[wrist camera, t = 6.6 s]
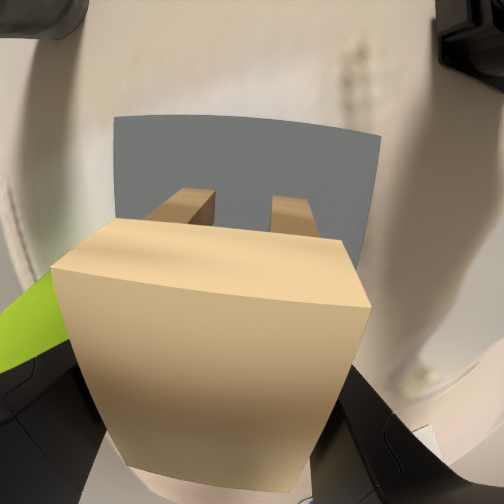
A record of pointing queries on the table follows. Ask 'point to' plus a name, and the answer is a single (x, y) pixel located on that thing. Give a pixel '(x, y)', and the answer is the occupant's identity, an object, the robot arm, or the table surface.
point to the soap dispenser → (31, 324)
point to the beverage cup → (40, 18)
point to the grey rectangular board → (248, 170)
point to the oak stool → (213, 338)
